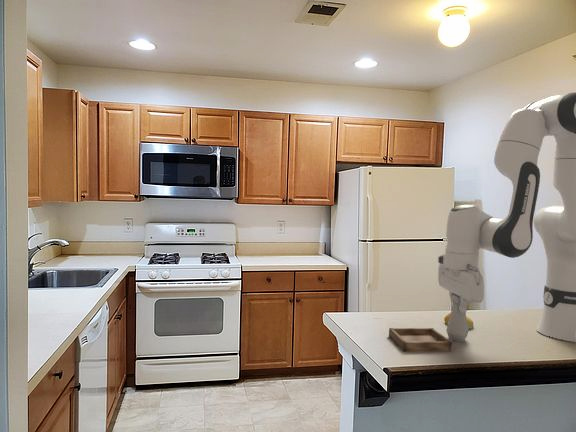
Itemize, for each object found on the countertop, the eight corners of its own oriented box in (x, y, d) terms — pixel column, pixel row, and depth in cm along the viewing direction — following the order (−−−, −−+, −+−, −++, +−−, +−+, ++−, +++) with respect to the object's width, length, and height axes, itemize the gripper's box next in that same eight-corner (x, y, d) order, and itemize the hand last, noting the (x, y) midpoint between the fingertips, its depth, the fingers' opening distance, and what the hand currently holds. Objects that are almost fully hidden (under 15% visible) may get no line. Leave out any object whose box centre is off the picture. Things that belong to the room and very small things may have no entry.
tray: (432, 336, 133) (432, 327, 133) (451, 351, 121) (451, 342, 121) (388, 336, 131) (389, 328, 131) (403, 351, 119) (404, 342, 119)
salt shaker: (469, 343, 127) (471, 298, 126) (447, 341, 128) (450, 296, 127) (465, 337, 133) (468, 293, 132) (444, 335, 134) (447, 291, 133)
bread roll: (452, 330, 139) (452, 317, 139) (440, 321, 148) (441, 309, 148) (478, 330, 140) (479, 318, 140) (465, 322, 149) (466, 310, 148)
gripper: (492, 268, 119) (488, 320, 120) (455, 256, 139) (452, 300, 140) (469, 268, 118) (465, 320, 119) (435, 256, 138) (432, 300, 139)
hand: (458, 309), depth 130 cm, fingers closed on salt shaker, 3 cm apart
